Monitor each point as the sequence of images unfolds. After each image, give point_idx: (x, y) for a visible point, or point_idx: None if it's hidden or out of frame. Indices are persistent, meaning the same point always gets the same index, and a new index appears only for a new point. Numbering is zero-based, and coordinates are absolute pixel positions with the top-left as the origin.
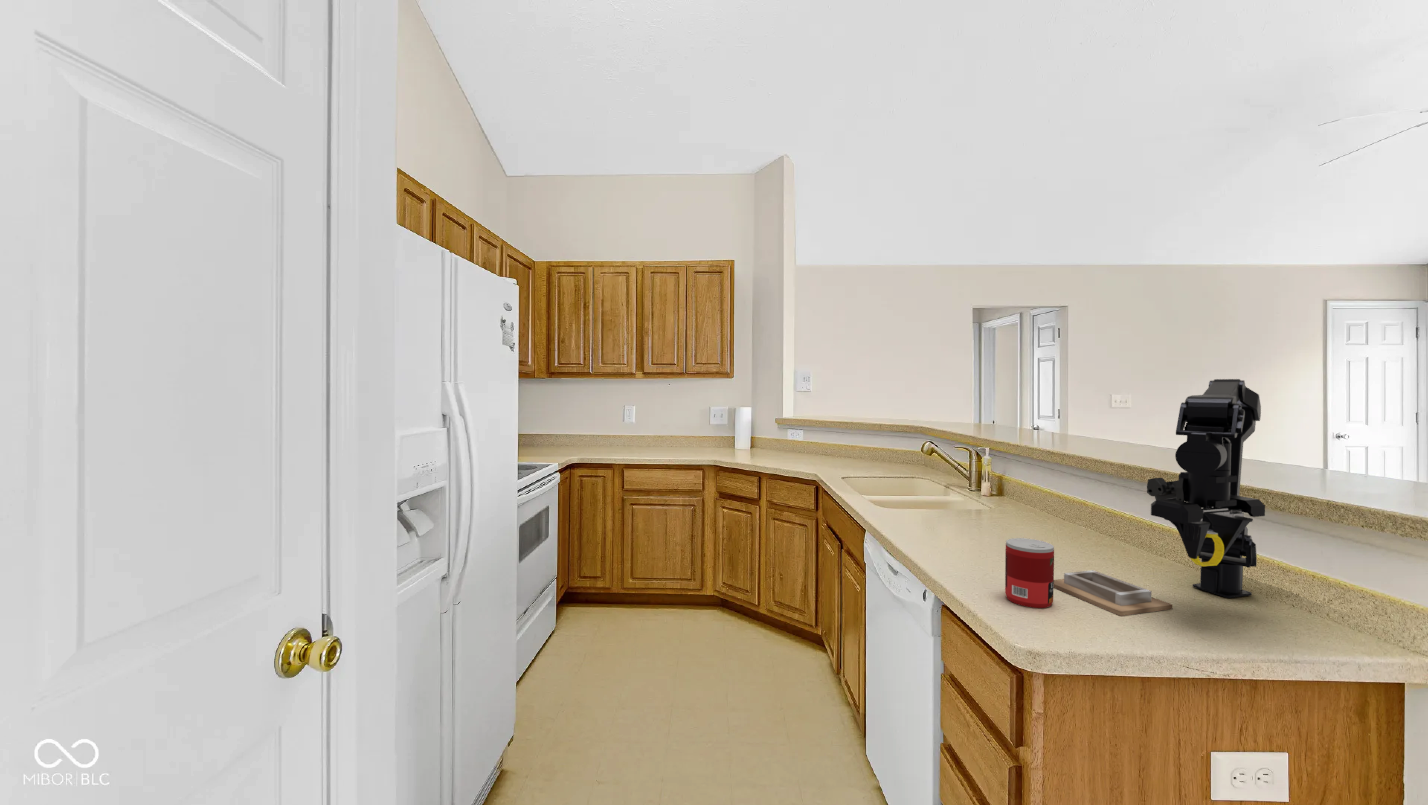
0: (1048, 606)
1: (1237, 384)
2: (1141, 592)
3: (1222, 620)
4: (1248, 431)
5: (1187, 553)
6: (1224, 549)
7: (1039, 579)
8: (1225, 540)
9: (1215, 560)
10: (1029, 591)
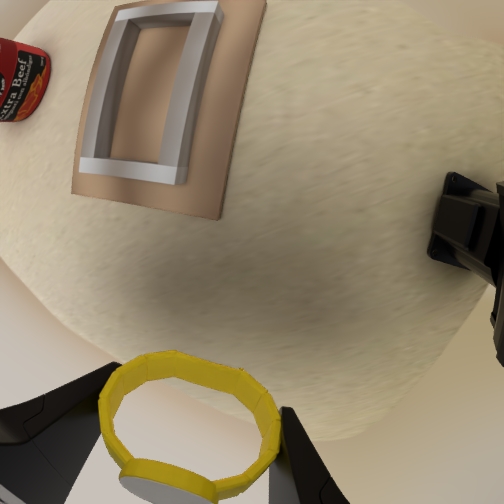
0: (24, 118)
1: None
2: (138, 179)
3: (252, 307)
4: None
5: (101, 367)
6: None
7: None
8: (274, 487)
9: (246, 398)
10: None
